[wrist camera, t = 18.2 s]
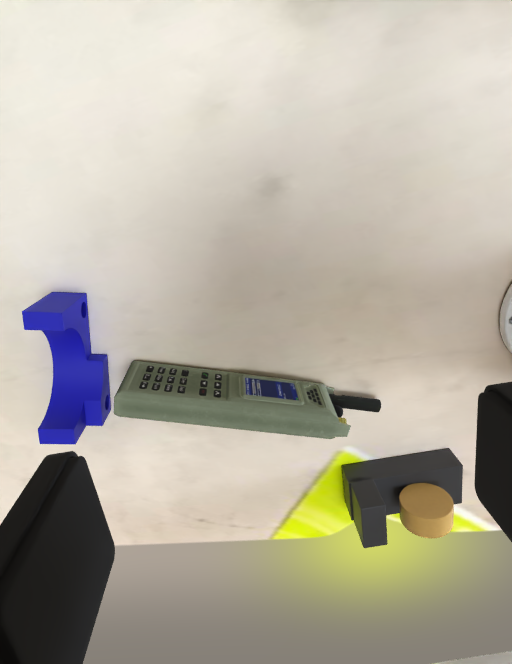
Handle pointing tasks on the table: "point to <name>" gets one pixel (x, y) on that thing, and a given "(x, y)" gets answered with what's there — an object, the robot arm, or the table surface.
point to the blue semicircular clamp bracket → (70, 368)
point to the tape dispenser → (403, 494)
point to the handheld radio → (235, 401)
